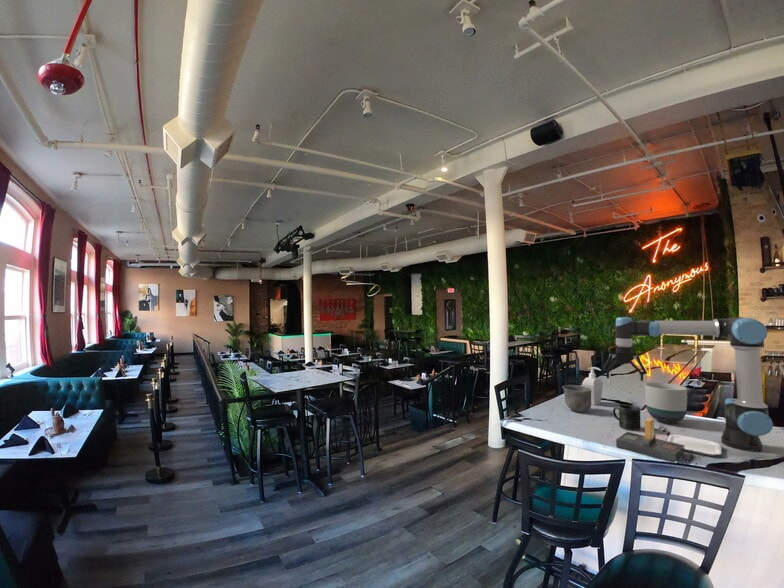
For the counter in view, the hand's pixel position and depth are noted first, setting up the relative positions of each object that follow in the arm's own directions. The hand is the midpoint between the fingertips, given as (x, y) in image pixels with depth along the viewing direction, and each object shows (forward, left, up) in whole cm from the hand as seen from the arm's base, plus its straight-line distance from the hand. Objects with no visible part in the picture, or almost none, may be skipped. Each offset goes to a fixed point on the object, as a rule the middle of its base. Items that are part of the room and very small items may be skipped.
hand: (624, 385), depth 198 cm
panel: (-14, +11, -27) cm, 33 cm away
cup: (+38, -30, -28) cm, 56 cm away
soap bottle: (+37, -55, -28) cm, 72 cm away
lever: (-14, +11, -22) cm, 29 cm away
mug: (+5, -18, -28) cm, 33 cm away
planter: (-7, -47, -28) cm, 55 cm away
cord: (-29, +9, -27) cm, 41 cm away
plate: (-27, -10, -28) cm, 40 cm away
